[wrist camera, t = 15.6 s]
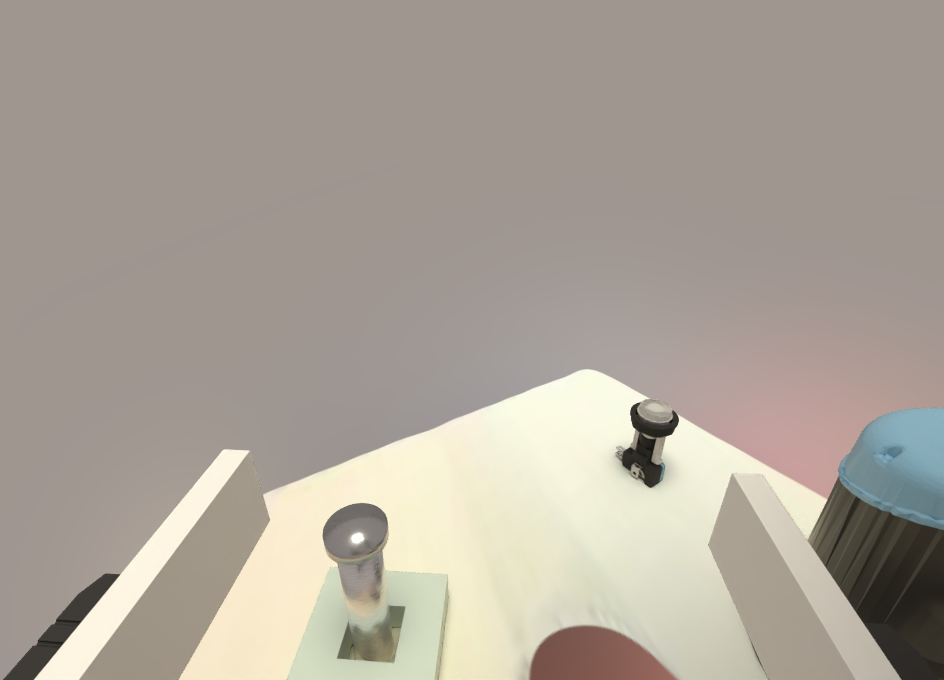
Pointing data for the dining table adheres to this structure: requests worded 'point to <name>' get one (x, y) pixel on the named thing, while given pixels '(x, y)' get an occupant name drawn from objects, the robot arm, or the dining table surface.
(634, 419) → the push button
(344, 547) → the steel pin
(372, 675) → the socket block
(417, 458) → the dining table surface
